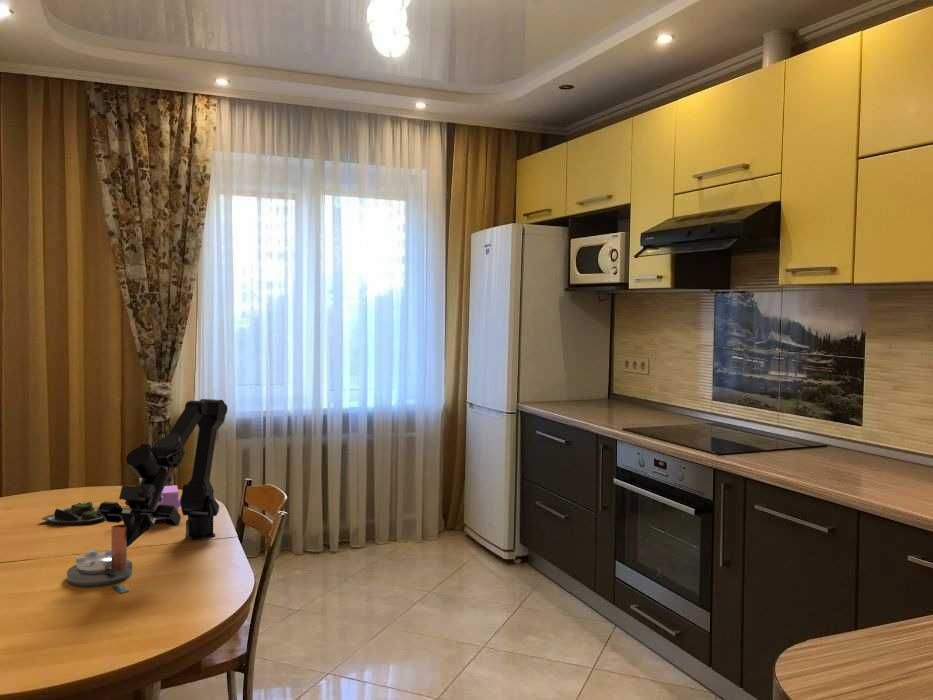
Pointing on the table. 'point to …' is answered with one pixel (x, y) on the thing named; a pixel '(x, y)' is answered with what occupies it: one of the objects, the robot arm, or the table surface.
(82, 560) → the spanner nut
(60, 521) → the salad plate
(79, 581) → the flange base
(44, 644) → the table surface
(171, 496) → the teapot
